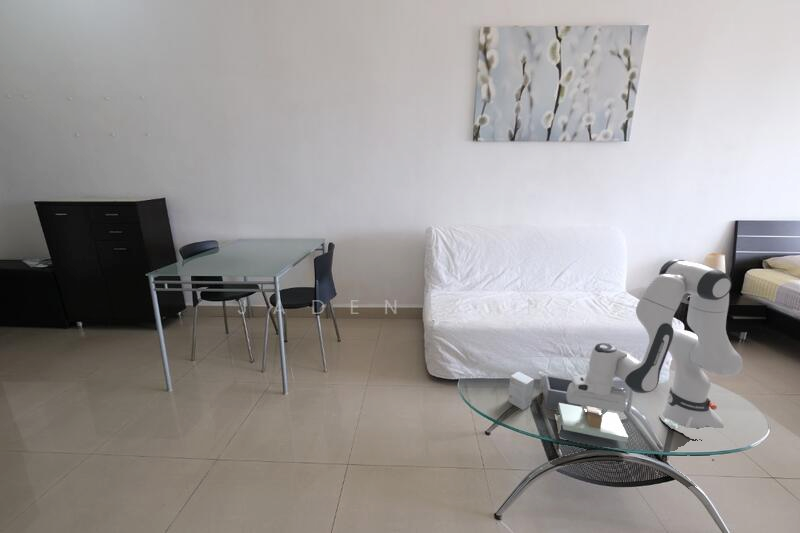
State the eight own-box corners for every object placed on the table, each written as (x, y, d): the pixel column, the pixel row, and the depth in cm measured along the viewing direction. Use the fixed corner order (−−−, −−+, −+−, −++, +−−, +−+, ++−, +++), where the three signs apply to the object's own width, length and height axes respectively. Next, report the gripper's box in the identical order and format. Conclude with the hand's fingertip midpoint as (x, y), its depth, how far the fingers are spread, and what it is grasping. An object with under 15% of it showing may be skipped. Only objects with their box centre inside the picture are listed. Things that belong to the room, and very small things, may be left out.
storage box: (589, 400, 161) (592, 382, 159) (595, 417, 150) (599, 398, 147) (542, 391, 166) (545, 374, 164) (545, 407, 155) (548, 389, 153)
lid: (615, 418, 143) (618, 404, 142) (627, 442, 131) (630, 428, 129) (558, 407, 149) (560, 394, 147) (563, 429, 136) (565, 415, 134)
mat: (616, 426, 145) (617, 425, 145) (628, 453, 131) (629, 452, 131) (553, 414, 151) (554, 413, 151) (559, 439, 137) (559, 438, 137)
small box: (531, 404, 157) (534, 379, 153) (523, 410, 153) (526, 384, 149) (515, 395, 163) (518, 370, 159) (507, 401, 159) (510, 375, 155)
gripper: (626, 384, 135) (619, 415, 139) (568, 375, 140) (562, 405, 144) (631, 394, 129) (624, 426, 133) (571, 384, 135) (565, 415, 138)
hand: (591, 415), depth 139 cm, fingers closed on lid, 4 cm apart
